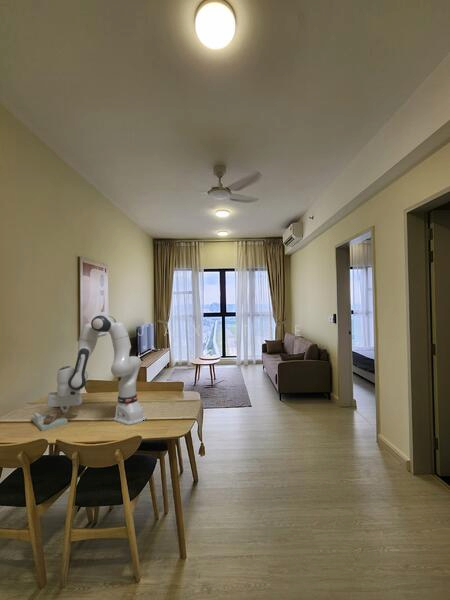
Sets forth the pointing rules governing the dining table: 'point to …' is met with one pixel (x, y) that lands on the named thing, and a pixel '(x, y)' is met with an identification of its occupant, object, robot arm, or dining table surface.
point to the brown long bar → (53, 416)
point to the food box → (60, 421)
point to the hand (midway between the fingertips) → (64, 412)
